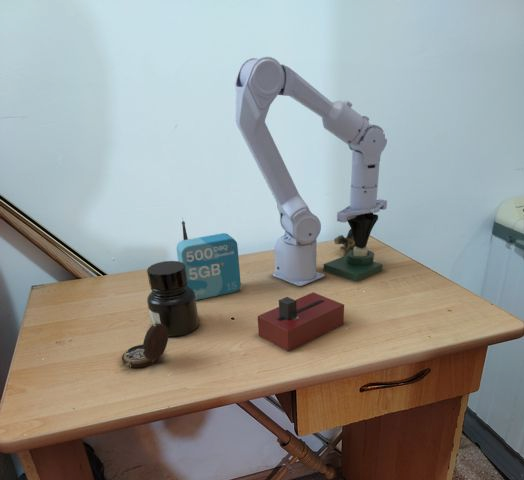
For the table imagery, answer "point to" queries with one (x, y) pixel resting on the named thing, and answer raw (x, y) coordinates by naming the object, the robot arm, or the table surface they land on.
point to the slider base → (301, 321)
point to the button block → (354, 266)
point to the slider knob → (287, 308)
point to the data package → (210, 264)
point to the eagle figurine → (346, 241)
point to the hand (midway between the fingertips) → (360, 246)
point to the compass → (147, 348)
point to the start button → (360, 251)
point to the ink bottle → (172, 298)
